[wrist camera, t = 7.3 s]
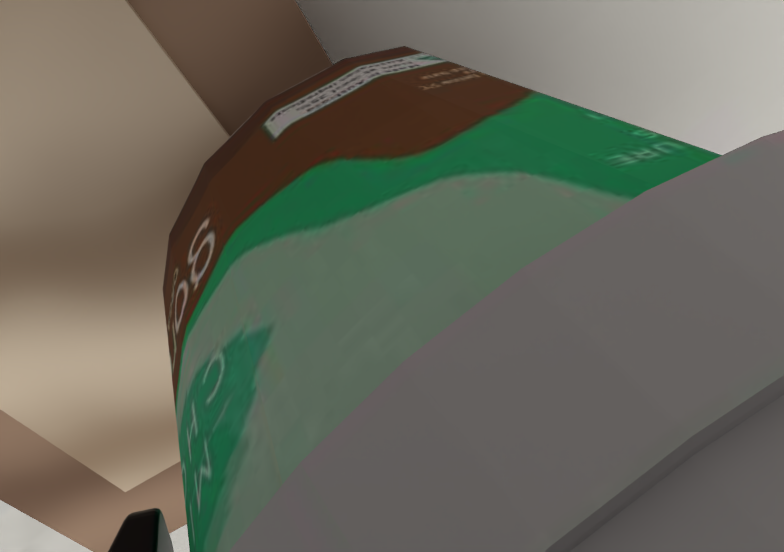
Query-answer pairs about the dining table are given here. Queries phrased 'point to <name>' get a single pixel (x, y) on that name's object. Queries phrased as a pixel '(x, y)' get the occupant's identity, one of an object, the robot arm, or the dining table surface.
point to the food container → (475, 325)
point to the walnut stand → (111, 232)
